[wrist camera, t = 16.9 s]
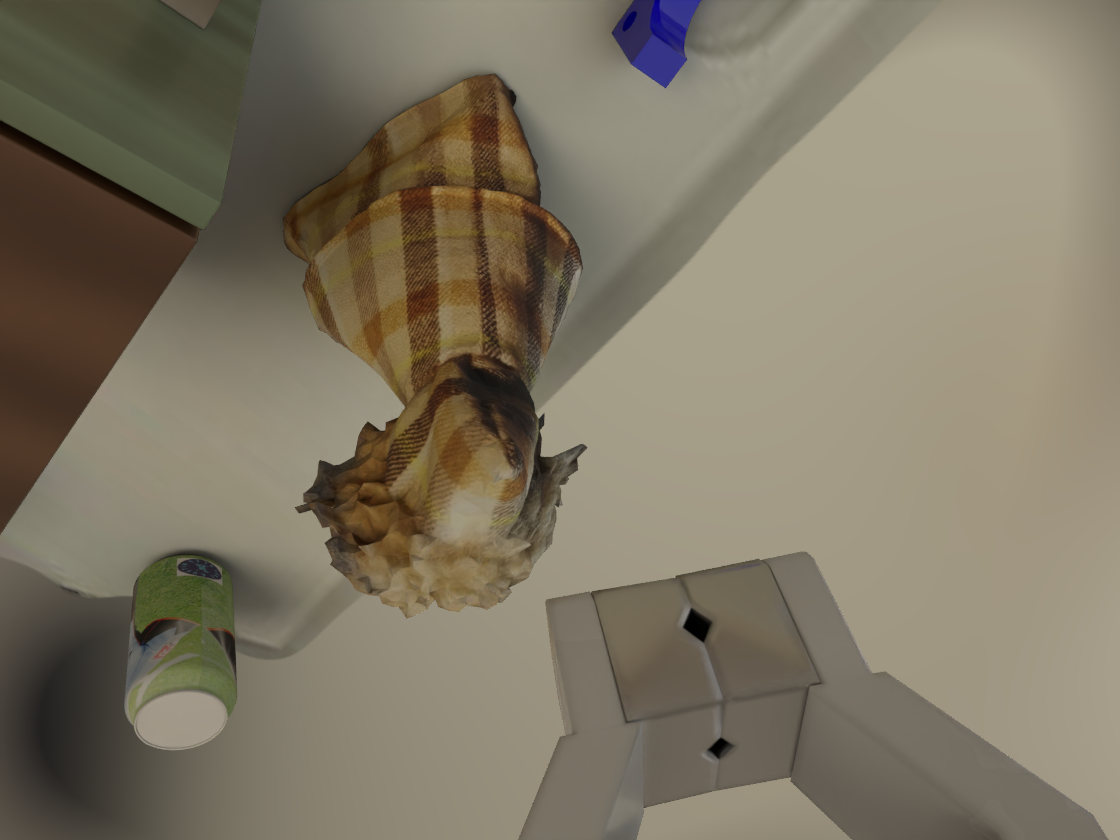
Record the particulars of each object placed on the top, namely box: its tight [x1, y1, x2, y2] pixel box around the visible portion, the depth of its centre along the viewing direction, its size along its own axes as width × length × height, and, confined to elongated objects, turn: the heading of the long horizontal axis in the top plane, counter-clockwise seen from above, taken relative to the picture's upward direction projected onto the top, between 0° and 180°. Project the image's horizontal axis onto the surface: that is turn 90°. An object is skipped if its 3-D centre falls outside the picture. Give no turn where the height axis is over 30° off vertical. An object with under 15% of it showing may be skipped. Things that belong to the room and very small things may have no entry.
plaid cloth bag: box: [283, 74, 587, 618], centre depth 39 cm, size 14×14×25 cm
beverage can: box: [124, 555, 237, 750], centre depth 57 cm, size 6×7×12 cm
